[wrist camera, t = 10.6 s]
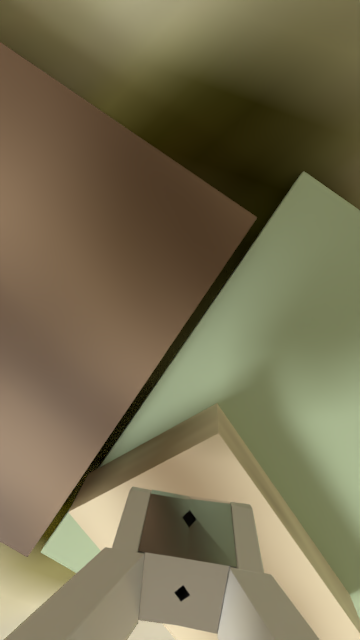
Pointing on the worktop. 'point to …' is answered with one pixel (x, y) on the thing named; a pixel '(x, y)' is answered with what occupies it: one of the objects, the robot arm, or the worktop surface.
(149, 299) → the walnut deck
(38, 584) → the worktop surface
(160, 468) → the birch tile
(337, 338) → the green mat
